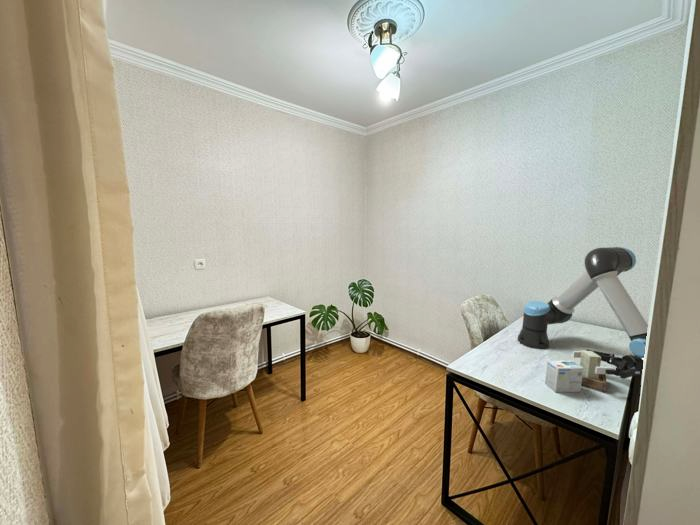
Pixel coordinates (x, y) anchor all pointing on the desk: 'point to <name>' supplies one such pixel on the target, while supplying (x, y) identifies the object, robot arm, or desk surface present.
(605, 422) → the desk surface
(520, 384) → the desk surface
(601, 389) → the walnut holder
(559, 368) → the light bulb box
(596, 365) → the skincare box
